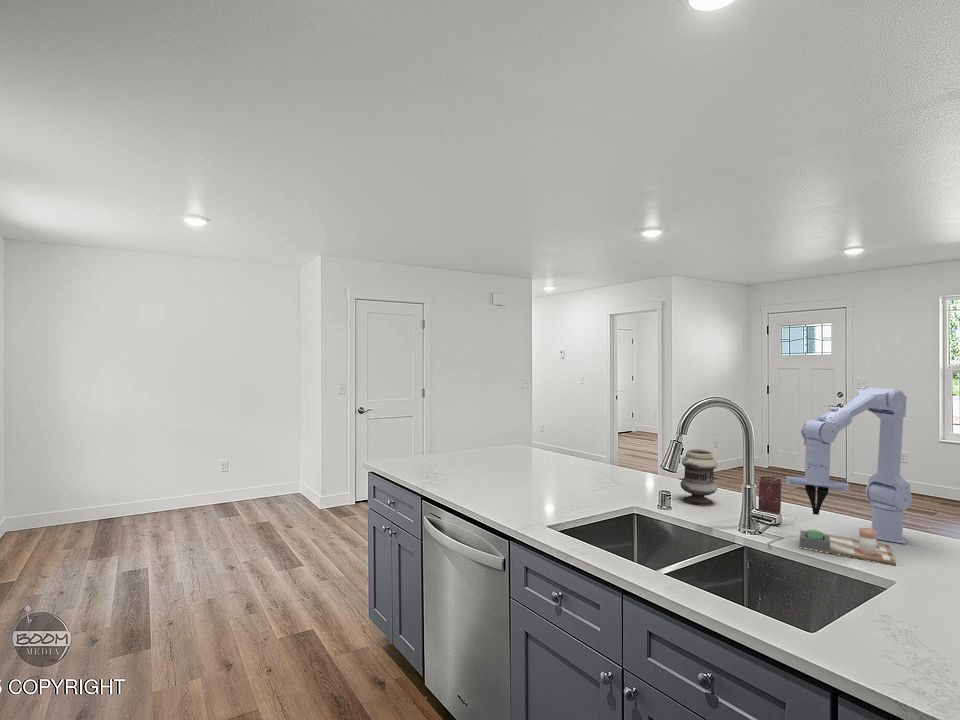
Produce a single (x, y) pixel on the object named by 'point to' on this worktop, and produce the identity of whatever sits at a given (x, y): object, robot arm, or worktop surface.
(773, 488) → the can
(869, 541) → the marker
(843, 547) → the board
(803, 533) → the button housing
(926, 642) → the worktop surface
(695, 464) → the apothecary jar
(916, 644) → the worktop surface
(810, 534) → the button
